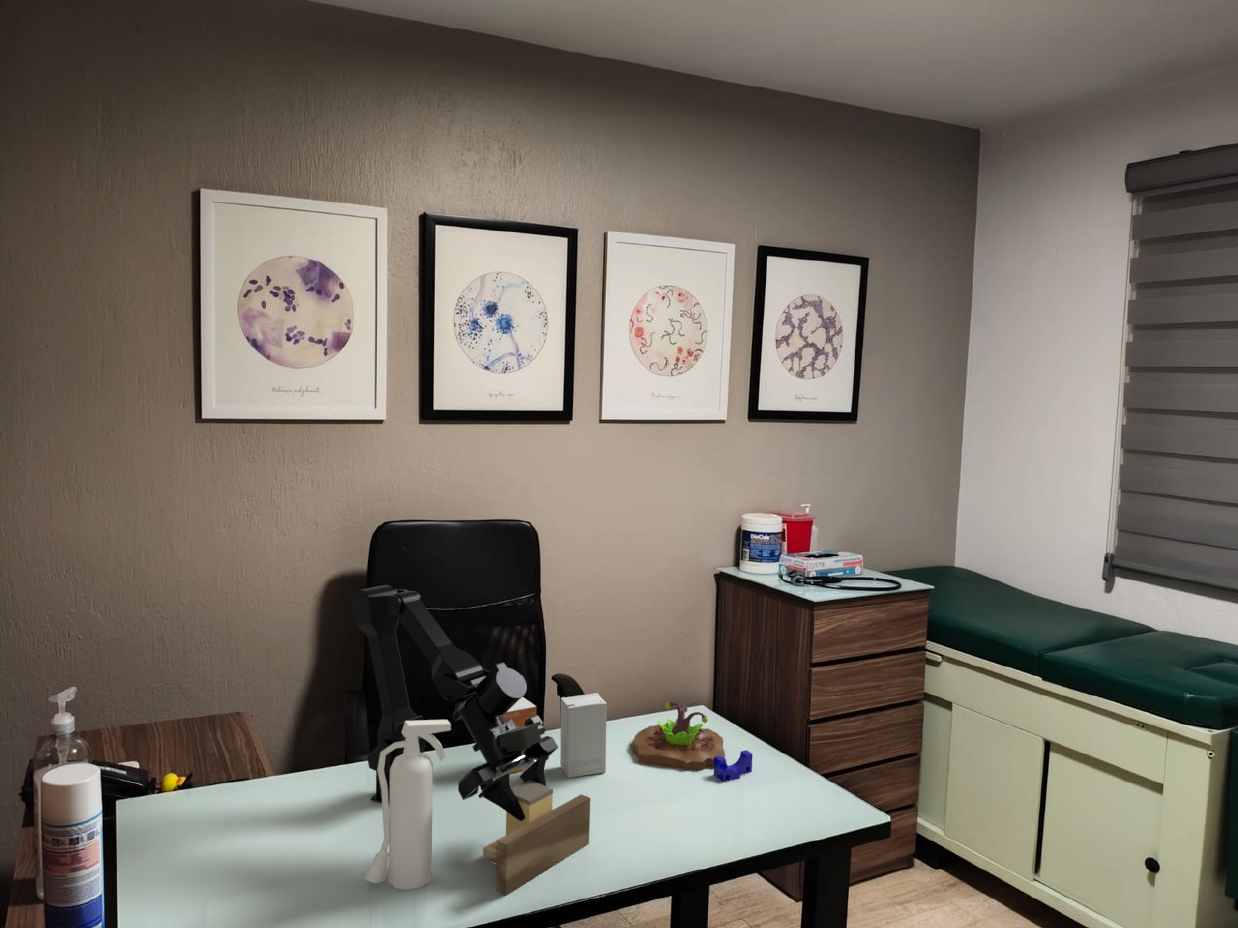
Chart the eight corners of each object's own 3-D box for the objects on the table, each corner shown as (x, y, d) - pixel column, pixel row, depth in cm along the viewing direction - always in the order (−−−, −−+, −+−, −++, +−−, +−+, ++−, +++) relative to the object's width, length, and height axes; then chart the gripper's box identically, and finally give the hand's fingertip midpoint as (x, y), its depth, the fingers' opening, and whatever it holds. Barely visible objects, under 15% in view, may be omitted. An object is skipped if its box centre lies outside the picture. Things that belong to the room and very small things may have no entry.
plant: (635, 731, 198) (636, 683, 197) (721, 736, 197) (723, 688, 196) (629, 769, 178) (631, 715, 177) (725, 775, 177) (728, 721, 176)
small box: (499, 777, 172) (500, 712, 171) (485, 765, 177) (486, 702, 176) (535, 768, 176) (537, 705, 175) (521, 756, 181) (522, 695, 180)
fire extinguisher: (359, 874, 136) (366, 718, 133) (436, 861, 141) (444, 711, 139) (366, 898, 129) (374, 736, 127) (446, 883, 135) (456, 727, 133)
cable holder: (723, 782, 173) (724, 763, 172) (713, 775, 176) (714, 756, 175) (756, 775, 176) (756, 756, 176) (745, 768, 179) (746, 750, 179)
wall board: (458, 871, 138) (459, 822, 137) (543, 824, 154) (544, 780, 153) (505, 895, 131) (506, 844, 131) (589, 843, 147) (590, 797, 147)
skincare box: (597, 761, 180) (599, 691, 179) (606, 774, 174) (608, 701, 173) (557, 766, 177) (559, 695, 176) (566, 779, 172) (568, 705, 170)
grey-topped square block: (504, 850, 141) (506, 791, 140) (528, 837, 146) (530, 779, 145) (528, 861, 138) (529, 801, 137) (551, 847, 143) (553, 788, 142)
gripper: (472, 720, 135) (522, 810, 129) (551, 689, 150) (600, 769, 144) (436, 755, 140) (483, 844, 135) (517, 722, 155) (562, 801, 150)
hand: (535, 812), depth 141 cm, fingers closed on grey-topped square block, 5 cm apart
